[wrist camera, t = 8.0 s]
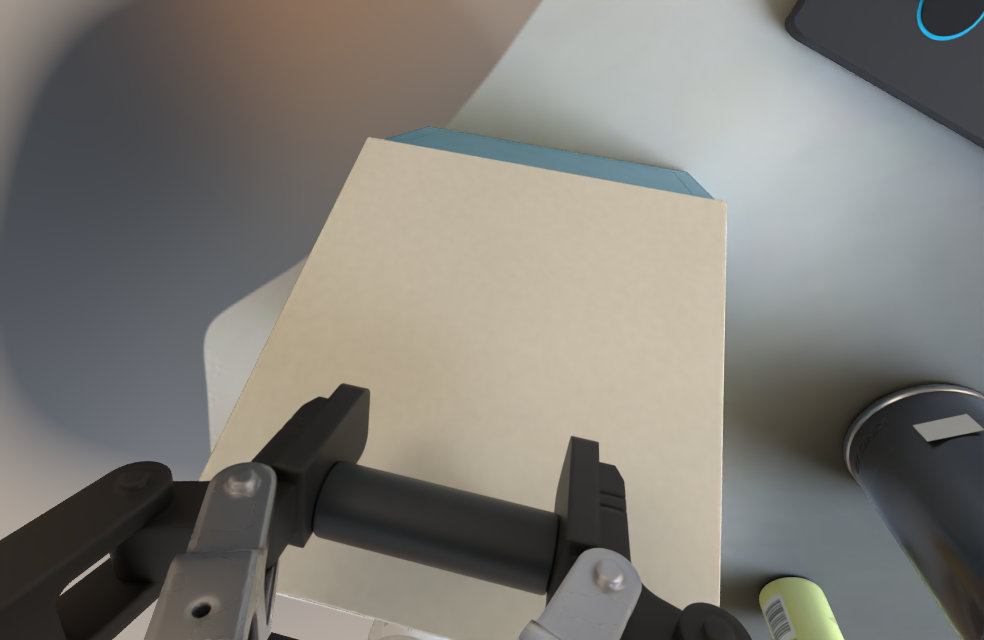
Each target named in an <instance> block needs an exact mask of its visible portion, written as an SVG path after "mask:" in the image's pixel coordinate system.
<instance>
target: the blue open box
mask: <svg viewBox="0 0 984 640" xmlns="http://www.w3.org/2000/svg"><path fill="white" fill-rule="evenodd" d="M383 140H388V141H394V142H399V143H405V144H410V145H416V146H421V147H427V148H433V149H438V150H444V151H449V152H455V153H460V154H466V155H471V156H477V157H482V158H488V159H493V160H499V161H504V162H510V163H515V164H521V165H526V166H532V167H537V168H543V169H548V170H554V171H559V172H565V173H570V174H576V175H581V176H587V177H592V178H598V179H603V180H609V181H614V182H620V183H625V184H631V185H636V186H642V187H647V188H653V189H658V190H664V191H669V192H675V193H680V194H686V195H691V196H697V197H702V198H708V199H713V200H715V199H714V198H713V197H712V196H711V195H710V194H709V193H708V192H707V191H706V190H705V189H704V188H703V187H702V186H701V185H700V184H699V183H698V182H697V181H696V180H695V179H694V178H693V177H692V176H691V175H690V174H689V173H687V172H683V171H677V170H671V169H666V168H660V167H654V166H649V165H643V164H638V163H632V162H626V161H621V160H615V159H609V158H604V157H598V156H592V155H587V154H581V153H576V152H570V151H564V150H559V149H553V148H547V147H542V146H536V145H531V144H525V143H519V142H514V141H508V140H502V139H497V138H491V137H486V136H480V135H474V134H469V133H463V132H457V131H452V130H446V129H441V128H435V127H429V126H428V127H425V128H421V129H418V130H414V131H411V132H408V133H404V134H401V135H397V136H394V137H390V138H387V139H383Z"/></svg>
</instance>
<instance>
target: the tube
mask: <svg viewBox="0 0 984 640" xmlns="http://www.w3.org/2000/svg"><path fill="white" fill-rule="evenodd" d="M759 602H760V606H761V609H762V612H763V615H764V617H765V620H766V623H767V626H768V629H769V632H770V635H771V637H772V640H844V639H843V637H842V634H841V632H840V630H839V627H838V625H837V622H836V620H835V618H834V615H833V613H832V611H831V609H830V606H829V604H828V602H827V599H826V597H825V595H824V593H823V591H822V590H821V589H820V587H819V586H817V585H816V584H815V583H813V582H811V581H809V580H806V579H803V578H797V577H787V578H781V579H777V580H774V581H772V582H770V583H769V584H767V585H766V586H765V587H764V588H763V589H762V591H761V592H760V595H759Z"/></svg>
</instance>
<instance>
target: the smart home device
mask: <svg viewBox="0 0 984 640" xmlns="http://www.w3.org/2000/svg"><path fill="white" fill-rule="evenodd" d="M785 27H786V29H787V31H788V32H789V33H790V35H791V36H792V37H794V38H795V39H796V40H798V41H799V42H801V43H803V44H804V45H806V46H808V47H810V48H811V49H813V50H815V51H817V52H818V53H820V54H822V55H824V56H825V57H827V58H829V59H830V60H832V61H834V62H836V63H837V64H839V65H841V66H843V67H844V68H846V69H848V70H849V71H851V72H853V73H855V74H856V75H858V76H860V77H862V78H863V79H865V80H867V81H869V82H870V83H872V84H874V85H875V86H877V87H879V88H881V89H882V90H884V91H886V92H888V93H889V94H891V95H893V96H894V97H896V98H898V99H900V100H901V101H903V102H905V103H907V104H908V105H910V106H912V107H914V108H915V109H917V110H919V111H920V112H922V113H924V114H926V115H927V116H929V117H931V118H933V119H934V120H936V121H938V122H939V123H941V124H943V125H945V126H946V127H948V128H950V129H952V130H953V131H955V132H957V133H958V134H960V135H962V136H964V137H965V138H967V139H969V140H971V141H972V142H974V143H976V144H978V145H979V146H981V147H983V148H984V0H798V2H797V3H796V5H795V6H794V8H793V9H792V11H791V12H790V14H789V15H788V17H787V18H786V20H785Z"/></svg>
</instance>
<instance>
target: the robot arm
mask: <svg viewBox="0 0 984 640" xmlns="http://www.w3.org/2000/svg"><path fill="white" fill-rule="evenodd" d="M369 409H370V390H369V389H367V388H363V387H359V386H354V385H350V384H345V383H342V384H340V385H339V386H338V388H337V389H336V390H335V391H334V392H333V393H332V395H331V396H330V397H329V398H325V397H320V396H319V397H317V398H315V399H313V400H311V401H309V402H307V403H305V404H303V405H302V406H301V407H300V408H299V409H298V411H297V412H296V413H295V414H294V415H293V416H292V418H291V419H289V420H288V421H287V422H286V424H285V425H284V426H283V428H282V429H280V430H279V431H278V432H277V433H276V434H275V436H274V437H273V438H272V439H271V440H270V441H269V442H268V443H267V444H266V445H265V446H264V447H263V449H262V450H261V451H260V452H259V453H258V454H257V455H256V456H255V457H254V458H253V459H252V461H251V462H243V463H238V464H234V465H231V466H229V467H227V468H225V469H223V470H221V471H220V472H218V473H217V474H216V475H215V476H214V477H213V478H212V480H211V481H173V479H172V473H171V470H170V469H169V468H168V467H167V466H165V465H164V464H162V463H159V462H152V461H144V462H135V463H131V464H127V465H125V466H122V467H119V468H118V469H115V470H113V471H112V472H110V473H108V474H107V475H105V476H103V477H102V478H100V479H99V480H97V481H95V482H94V483H92V484H90V485H89V486H87V487H86V488H84V489H82V490H81V491H79V492H78V493H76V494H74V495H73V496H71V497H69V498H68V499H66V500H65V501H63V502H62V503H60V504H58V505H57V506H55V507H53V508H52V509H50V510H49V511H47V512H45V513H44V514H42V515H40V516H39V517H37V518H36V519H34V520H32V521H31V522H29V523H28V524H26V525H24V526H23V527H21V528H20V529H18V530H17V531H15V532H13V533H11V534H10V535H8V536H7V537H5V538H3V539H2V540H0V640H112V639H113V638H115V637H116V636H117V635H118V634H119V633H120V632H121V631H122V630H123V629H124V628H126V627H127V626H128V625H129V624H130V623H131V622H132V621H133V620H134V619H136V617H138V616H139V615H140V614H141V613H142V612H143V611H144V610H145V609H146V608H148V607H149V606H150V605H151V604H152V603H153V602H154V601H155V600H156V599H158V598H159V599H158V601H157V604H156V607H155V610H154V613H153V615H152V618H151V621H150V624H149V627H148V630H147V632H146V635H145V638H144V640H297V639H294V638H290V637H287V636H283V635H280V634H276V633H273V632H271V634H270V629H271V622H272V615H273V608H274V601H275V594H276V587H277V581H278V574H279V567H280V556H281V554H282V553H283V551H284V550H285V548H286V547H287V545H292V546H296V547H300V548H304V546H305V545H306V543H307V541H308V540H309V538H310V537H311V535H312V533H313V526H312V524H313V514H314V509H315V504H316V501H317V498H318V495H319V492H320V489H321V487H322V484H323V482H324V480H325V478H326V476H327V475H328V473H329V471H330V470H331V469H332V467H333V466H334V465H335V464H336V463H337V462H340V461H346V462H350V463H354V464H357V462H358V460H359V459H360V457H361V456H362V454H363V451H364V449H365V446H366V442H367V438H368V427H369ZM843 457H844V461H845V464H846V466H847V468H848V470H849V472H850V473H851V475H852V476H853V478H854V479H855V481H856V482H857V483H858V484H859V485H860V486H861V487H862V489H863V490H864V492H865V493H866V495H867V496H868V498H869V499H870V501H871V502H872V504H873V505H874V507H875V509H876V510H877V512H878V514H879V515H880V517H881V518H882V520H883V521H884V523H885V524H886V526H887V527H888V529H889V530H890V532H891V533H892V535H893V536H894V538H895V539H896V541H897V542H898V544H899V546H900V547H901V549H902V550H903V552H904V553H905V555H906V556H907V558H908V559H909V561H910V562H911V564H912V565H913V567H914V568H915V570H916V571H917V573H918V574H919V576H920V577H921V579H922V580H923V582H924V584H925V585H926V587H927V588H928V590H929V591H930V593H931V594H932V596H933V597H934V599H935V600H936V602H937V603H938V605H939V606H940V608H941V609H942V611H943V612H944V614H945V615H946V617H947V618H948V620H949V622H950V623H951V625H952V626H953V628H954V629H955V631H956V632H957V634H958V635H959V637H960V638H961V640H984V395H982V394H981V393H979V392H976V391H974V390H972V389H969V388H965V387H961V386H956V385H949V384H926V385H919V386H914V387H909V388H906V389H902V390H899V391H896V392H894V393H891V394H889V395H887V396H885V397H883V398H881V399H879V400H877V401H876V402H874V403H873V404H871V405H870V406H869V407H867V408H866V409H865V410H864V411H863V412H862V413H861V414H860V415H859V416H858V417H857V418H856V419H855V420H854V422H853V423H852V424H851V426H850V428H849V429H848V431H847V433H846V436H845V439H844V444H843ZM625 497H626V495H625V482H624V479H623V478H622V476H621V474H620V473H619V471H618V469H617V468H616V466H615V465H611V464H607V463H602V462H599V442H597V441H593V440H588V439H584V438H580V437H575V436H571V437H570V440H569V444H568V448H567V452H566V455H565V459H564V463H563V467H562V471H561V475H560V478H559V483H558V487H557V493H556V499H555V508H554V513H557V514H558V515H559V535H558V543H557V549H556V556H555V561H554V566H553V571H552V576H551V580H550V584H549V587H548V590H547V596H546V607H545V609H544V611H543V613H542V614H541V616H540V617H539V618H538V620H537V621H535V620H533V619H532V620H531V621H530V622H529V623H528V624H527V625H526V626H525V628H524V629H523V631H522V632H521V634H520V635H519V637H518V638H517V640H752V639H751V637H750V635H749V634H748V632H747V631H746V629H745V628H744V626H743V625H742V624H741V623H740V622H739V621H738V620H737V619H736V618H735V617H734V616H732V615H731V614H730V613H728V612H727V611H725V610H724V609H722V608H720V607H718V606H716V605H712V604H709V603H704V602H697V603H692V604H690V605H688V606H687V607H685V608H684V610H681V609H679V608H677V607H675V606H674V605H672V604H670V603H668V602H666V601H665V600H663V599H661V598H659V597H658V596H656V595H655V594H653V593H652V592H651V591H650V590H648V589H647V588H646V587H645V586H644V585H643V583H642V582H641V579H640V576H639V574H638V572H637V570H636V569H635V567H634V566H633V565H632V563H631V555H630V543H629V531H628V519H627V512H626V510H627V507H626V499H625ZM108 553H109V554H110V558H109V559H108V560H106V561H105V562H104V563H102V564H101V565H100V566H99V567H97V568H96V569H95V570H93V571H92V572H91V573H90V574H88V575H87V576H85V577H84V578H83V579H82V580H80V581H79V582H78V583H76V584H75V585H74V586H73V587H71V588H70V589H68V590H67V591H66V592H65V593H63V594H62V595H61V596H60V594H61V592H62V591H63V589H64V588H65V587H66V586H67V585H68V584H69V583H70V582H71V581H72V580H74V579H75V578H76V577H78V576H79V575H80V574H82V573H83V572H84V571H85V570H87V569H88V568H89V567H91V566H92V565H93V564H95V563H96V562H97V561H99V560H100V559H101V558H103V557H104V556H105V555H107V554H108Z"/></svg>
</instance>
